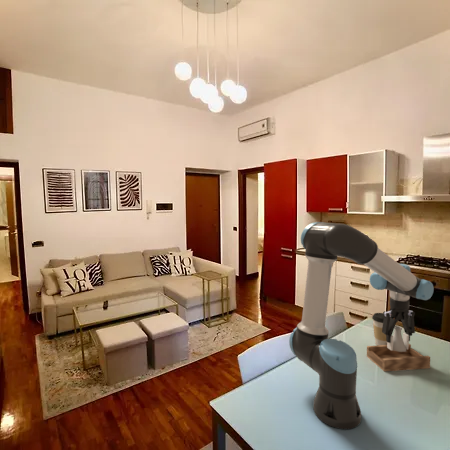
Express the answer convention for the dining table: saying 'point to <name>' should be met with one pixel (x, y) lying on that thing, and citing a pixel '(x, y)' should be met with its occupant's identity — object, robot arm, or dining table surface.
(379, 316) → the coffee cup
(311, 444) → the dining table surface
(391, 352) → the wooden tray
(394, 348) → the flask
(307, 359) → the robot arm
